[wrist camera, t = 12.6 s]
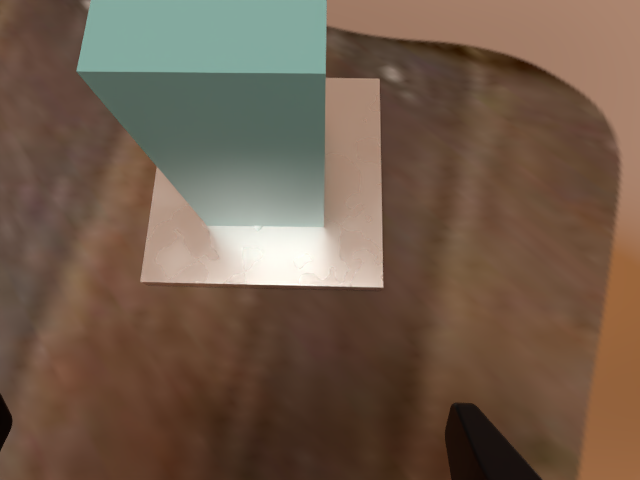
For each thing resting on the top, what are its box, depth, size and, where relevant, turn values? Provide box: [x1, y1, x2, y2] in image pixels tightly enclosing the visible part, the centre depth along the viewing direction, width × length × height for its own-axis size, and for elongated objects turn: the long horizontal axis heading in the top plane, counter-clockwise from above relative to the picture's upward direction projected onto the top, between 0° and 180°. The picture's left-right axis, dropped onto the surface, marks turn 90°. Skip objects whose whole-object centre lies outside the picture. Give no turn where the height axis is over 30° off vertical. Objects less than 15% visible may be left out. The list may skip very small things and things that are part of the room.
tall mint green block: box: [77, 0, 327, 227], centre depth 17 cm, size 6×6×12 cm
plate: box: [140, 78, 383, 291], centre depth 22 cm, size 12×12×4 cm
